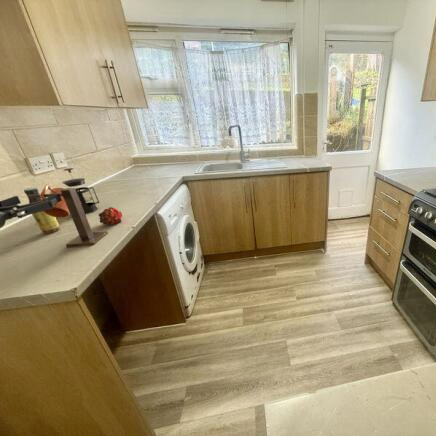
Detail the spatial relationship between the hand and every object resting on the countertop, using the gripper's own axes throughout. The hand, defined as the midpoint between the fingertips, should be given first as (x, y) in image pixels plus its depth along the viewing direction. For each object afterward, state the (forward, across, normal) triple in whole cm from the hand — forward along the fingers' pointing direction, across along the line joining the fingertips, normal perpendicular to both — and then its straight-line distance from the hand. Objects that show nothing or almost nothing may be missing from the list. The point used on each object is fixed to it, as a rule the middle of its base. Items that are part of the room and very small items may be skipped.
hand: (39, 198), depth 88 cm
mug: (+10, 0, 0) cm, 10 cm away
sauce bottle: (+16, -14, -20) cm, 29 cm away
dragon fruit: (+20, +10, -20) cm, 30 cm away
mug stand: (+3, +4, -20) cm, 20 cm away
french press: (+40, -13, -20) cm, 46 cm away
